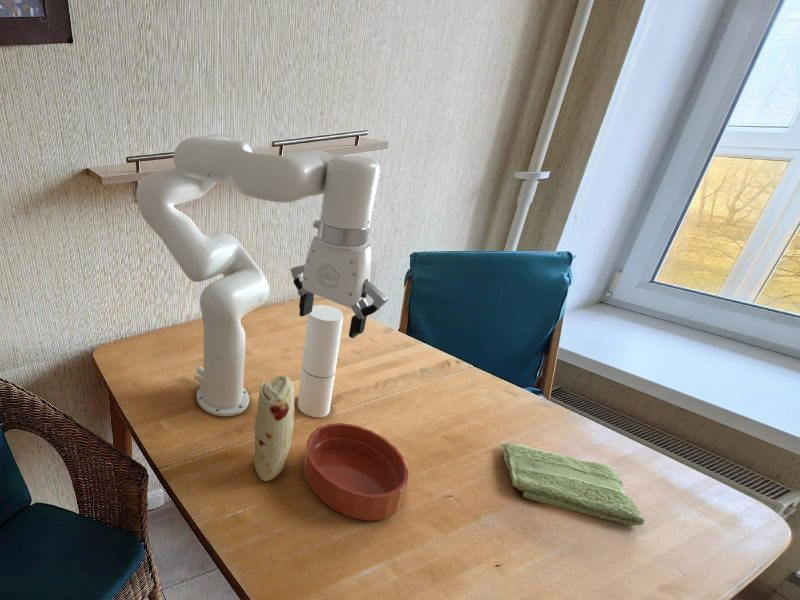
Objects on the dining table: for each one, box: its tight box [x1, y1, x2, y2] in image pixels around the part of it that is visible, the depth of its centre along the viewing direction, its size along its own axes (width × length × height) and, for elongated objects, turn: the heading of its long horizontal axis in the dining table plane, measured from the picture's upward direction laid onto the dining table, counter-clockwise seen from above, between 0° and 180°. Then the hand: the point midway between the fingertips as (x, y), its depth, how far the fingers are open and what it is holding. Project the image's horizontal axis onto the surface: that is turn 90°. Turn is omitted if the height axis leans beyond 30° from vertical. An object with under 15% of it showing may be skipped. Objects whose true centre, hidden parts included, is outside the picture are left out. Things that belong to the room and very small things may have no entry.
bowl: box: [303, 422, 410, 521], centre depth 80 cm, size 17×17×6 cm
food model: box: [253, 375, 295, 482], centre depth 81 cm, size 10×7×20 cm
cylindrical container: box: [297, 304, 345, 418], centre depth 96 cm, size 7×7×25 cm
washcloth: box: [501, 442, 646, 527], centre depth 78 cm, size 13×18×3 cm
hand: (329, 324), depth 76 cm, fingers open, 9 cm apart
